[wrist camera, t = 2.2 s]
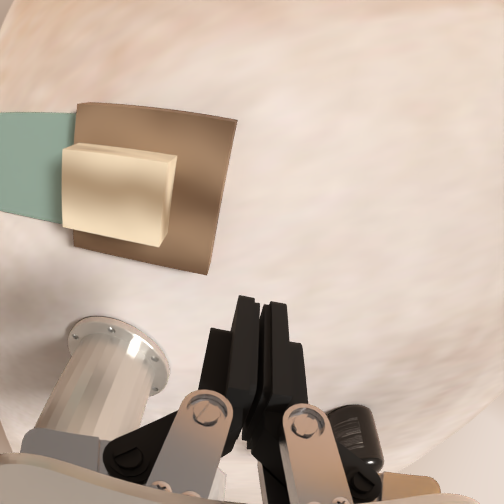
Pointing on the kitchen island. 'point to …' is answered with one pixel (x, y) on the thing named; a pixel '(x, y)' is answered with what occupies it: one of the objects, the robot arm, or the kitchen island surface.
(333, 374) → the kitchen island surface
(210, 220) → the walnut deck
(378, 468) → the supplement bottle
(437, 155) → the kitchen island surface
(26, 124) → the rubber mat
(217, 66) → the kitchen island surface
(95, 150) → the birch tile
